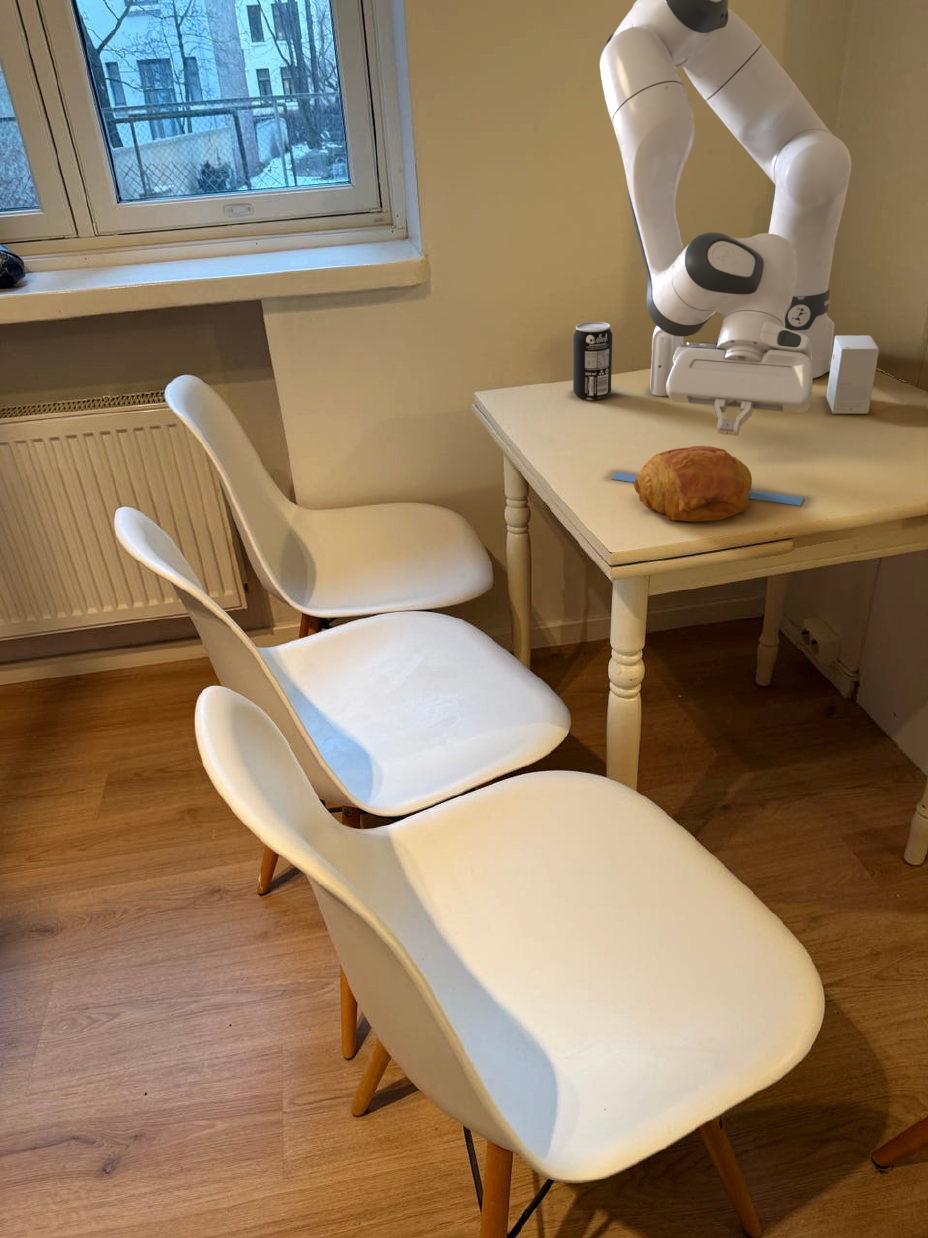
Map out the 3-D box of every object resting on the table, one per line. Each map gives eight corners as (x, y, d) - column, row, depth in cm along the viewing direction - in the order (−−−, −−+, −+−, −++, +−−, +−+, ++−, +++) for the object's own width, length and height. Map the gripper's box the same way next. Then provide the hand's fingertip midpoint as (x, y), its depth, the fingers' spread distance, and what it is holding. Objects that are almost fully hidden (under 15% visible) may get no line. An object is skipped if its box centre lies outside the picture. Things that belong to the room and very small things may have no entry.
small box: (868, 414, 149) (880, 348, 143) (831, 414, 150) (841, 348, 144) (860, 398, 156) (871, 334, 150) (825, 397, 157) (835, 334, 151)
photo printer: (672, 397, 161) (676, 324, 155) (647, 395, 163) (650, 323, 156) (683, 379, 169) (688, 309, 163) (659, 377, 171) (663, 308, 164)
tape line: (617, 472, 135) (617, 472, 135) (803, 498, 125) (803, 497, 125) (611, 479, 134) (611, 478, 133) (800, 505, 123) (800, 505, 123)
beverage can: (584, 386, 169) (585, 319, 162) (617, 391, 165) (619, 323, 159) (566, 397, 164) (566, 328, 158) (599, 403, 161) (600, 332, 155)
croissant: (630, 497, 133) (624, 445, 129) (741, 476, 131) (738, 422, 127) (649, 542, 120) (642, 485, 116) (771, 519, 119) (769, 461, 115)
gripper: (674, 329, 137) (651, 416, 135) (821, 338, 128) (799, 431, 126) (681, 351, 142) (659, 434, 140) (822, 361, 134) (801, 450, 132)
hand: (727, 433), depth 133 cm, fingers closed
